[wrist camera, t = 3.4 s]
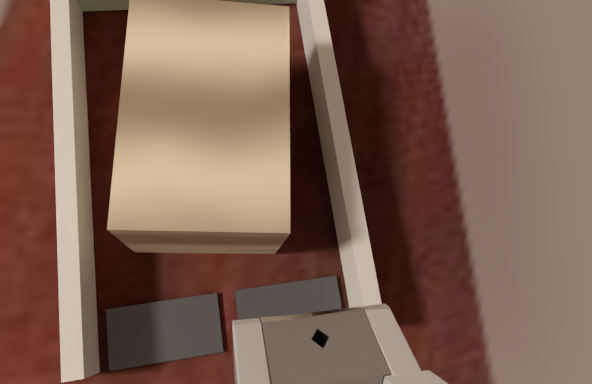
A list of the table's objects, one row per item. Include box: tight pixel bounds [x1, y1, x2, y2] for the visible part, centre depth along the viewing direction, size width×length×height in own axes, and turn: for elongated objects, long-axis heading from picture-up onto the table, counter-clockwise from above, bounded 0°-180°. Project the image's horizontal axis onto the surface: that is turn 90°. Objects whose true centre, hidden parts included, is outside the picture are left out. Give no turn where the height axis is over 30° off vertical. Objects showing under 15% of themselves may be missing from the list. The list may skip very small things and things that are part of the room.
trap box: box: [50, 0, 382, 383], centre depth 27 cm, size 23×16×4 cm
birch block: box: [107, 0, 290, 254], centre depth 26 cm, size 12×8×7 cm, turn 0°
